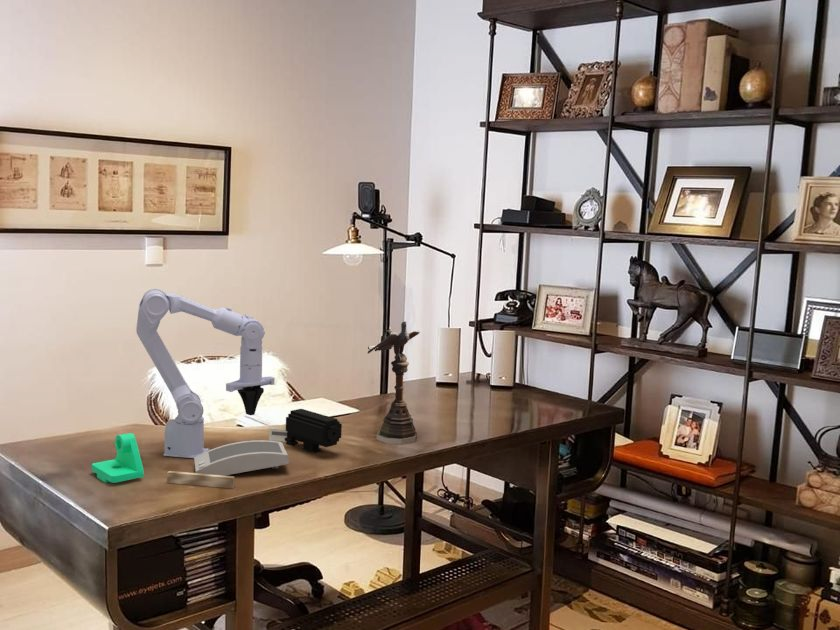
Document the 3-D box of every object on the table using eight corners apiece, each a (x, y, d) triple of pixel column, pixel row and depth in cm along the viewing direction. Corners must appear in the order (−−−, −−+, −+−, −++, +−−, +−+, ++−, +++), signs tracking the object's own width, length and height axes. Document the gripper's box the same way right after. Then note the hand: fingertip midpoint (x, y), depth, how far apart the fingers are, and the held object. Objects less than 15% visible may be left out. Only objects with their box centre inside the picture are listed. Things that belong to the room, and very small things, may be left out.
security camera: (297, 440, 237) (298, 405, 236) (342, 455, 225) (343, 418, 224) (278, 444, 232) (278, 409, 231) (323, 460, 220) (324, 423, 219)
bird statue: (354, 433, 246) (357, 315, 241) (388, 427, 255) (393, 312, 250) (389, 447, 234) (394, 322, 229) (425, 440, 242) (430, 320, 238)
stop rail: (167, 482, 198) (167, 472, 198) (169, 481, 199) (169, 470, 199) (232, 488, 196) (232, 478, 196) (234, 486, 197) (234, 476, 197)
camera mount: (90, 474, 202) (90, 432, 201) (121, 468, 207) (120, 427, 206) (112, 487, 194) (112, 444, 192) (143, 481, 199) (143, 438, 198)
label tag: (268, 440, 236) (269, 428, 235) (269, 440, 236) (269, 427, 236) (289, 442, 235) (289, 429, 234) (290, 441, 235) (290, 429, 235)
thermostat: (194, 466, 212) (194, 443, 211) (283, 461, 218) (283, 438, 218) (195, 481, 201) (195, 456, 200) (289, 475, 208) (289, 451, 207)
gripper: (263, 358, 231) (262, 407, 233) (219, 365, 220) (218, 415, 222) (279, 362, 226) (278, 412, 228) (235, 369, 215) (234, 421, 217)
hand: (250, 414), depth 224 cm, fingers closed
